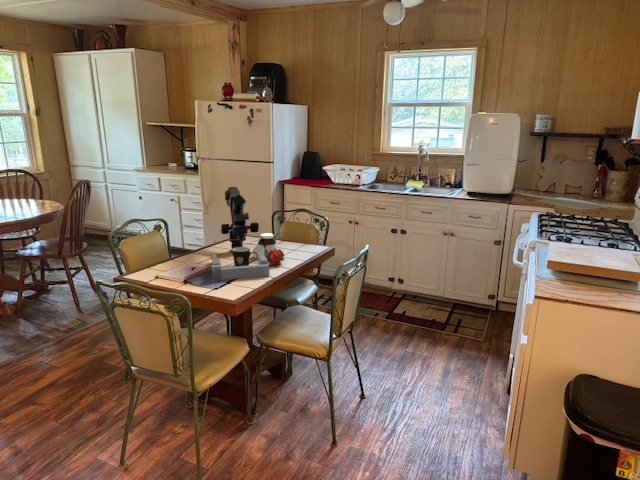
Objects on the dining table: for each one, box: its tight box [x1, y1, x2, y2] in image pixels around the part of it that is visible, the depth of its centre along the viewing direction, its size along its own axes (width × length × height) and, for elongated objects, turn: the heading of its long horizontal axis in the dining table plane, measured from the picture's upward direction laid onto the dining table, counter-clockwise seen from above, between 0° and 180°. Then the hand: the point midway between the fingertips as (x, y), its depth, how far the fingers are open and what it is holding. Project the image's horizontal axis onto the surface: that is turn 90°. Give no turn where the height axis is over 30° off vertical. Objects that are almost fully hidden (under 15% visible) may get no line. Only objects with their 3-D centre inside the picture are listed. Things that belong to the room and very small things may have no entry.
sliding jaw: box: [210, 253, 222, 266], centre depth 218 cm, size 25×4×6 cm, turn 16°
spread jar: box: [252, 232, 278, 259], centre depth 240 cm, size 12×11×12 cm
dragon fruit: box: [266, 248, 286, 266], centre depth 227 cm, size 8×8×12 cm
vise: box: [211, 255, 270, 281], centre depth 212 cm, size 14×26×6 cm, turn 106°
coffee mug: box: [231, 246, 258, 267], centre depth 218 cm, size 12×9×10 cm
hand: (241, 242), depth 224 cm, fingers closed
